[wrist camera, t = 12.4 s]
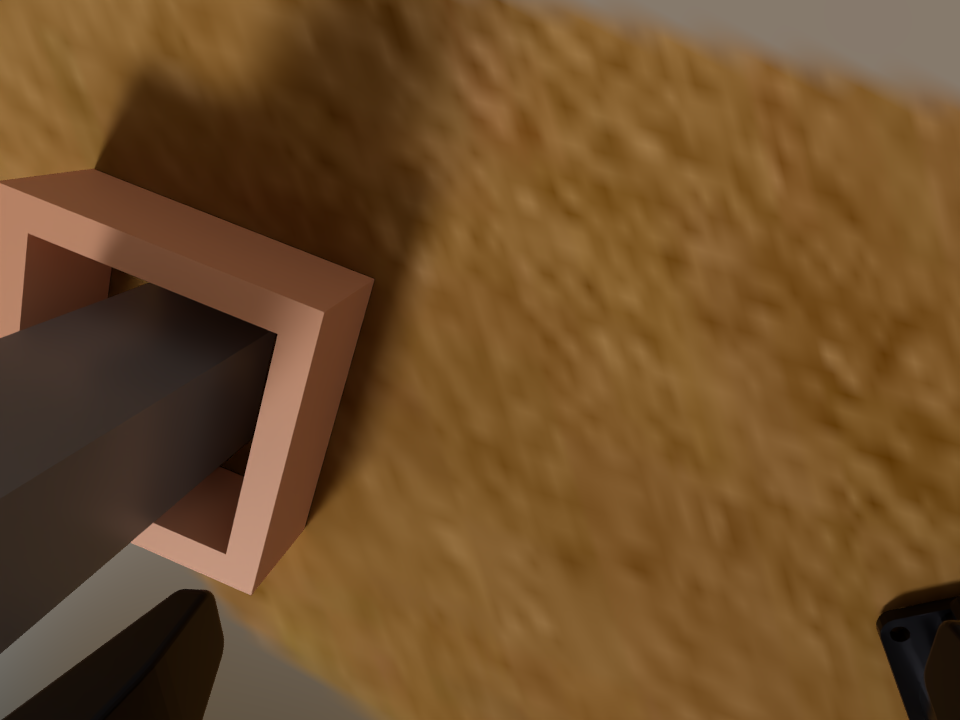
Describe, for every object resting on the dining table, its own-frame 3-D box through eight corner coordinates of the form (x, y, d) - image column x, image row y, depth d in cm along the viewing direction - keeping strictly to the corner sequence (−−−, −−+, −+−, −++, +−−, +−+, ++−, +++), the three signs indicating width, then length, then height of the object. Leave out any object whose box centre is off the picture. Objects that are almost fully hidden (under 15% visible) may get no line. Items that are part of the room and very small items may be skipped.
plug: (277, 327, 22) (-37, 520, 12) (251, 438, 24) (-47, 693, 14) (157, 279, 23) (-245, 428, 12) (140, 392, 24) (-232, 607, 14)
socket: (374, 279, 21) (324, 312, 18) (304, 529, 24) (251, 595, 21) (93, 168, 22) (-5, 181, 19) (62, 426, 25) (-24, 474, 22)
